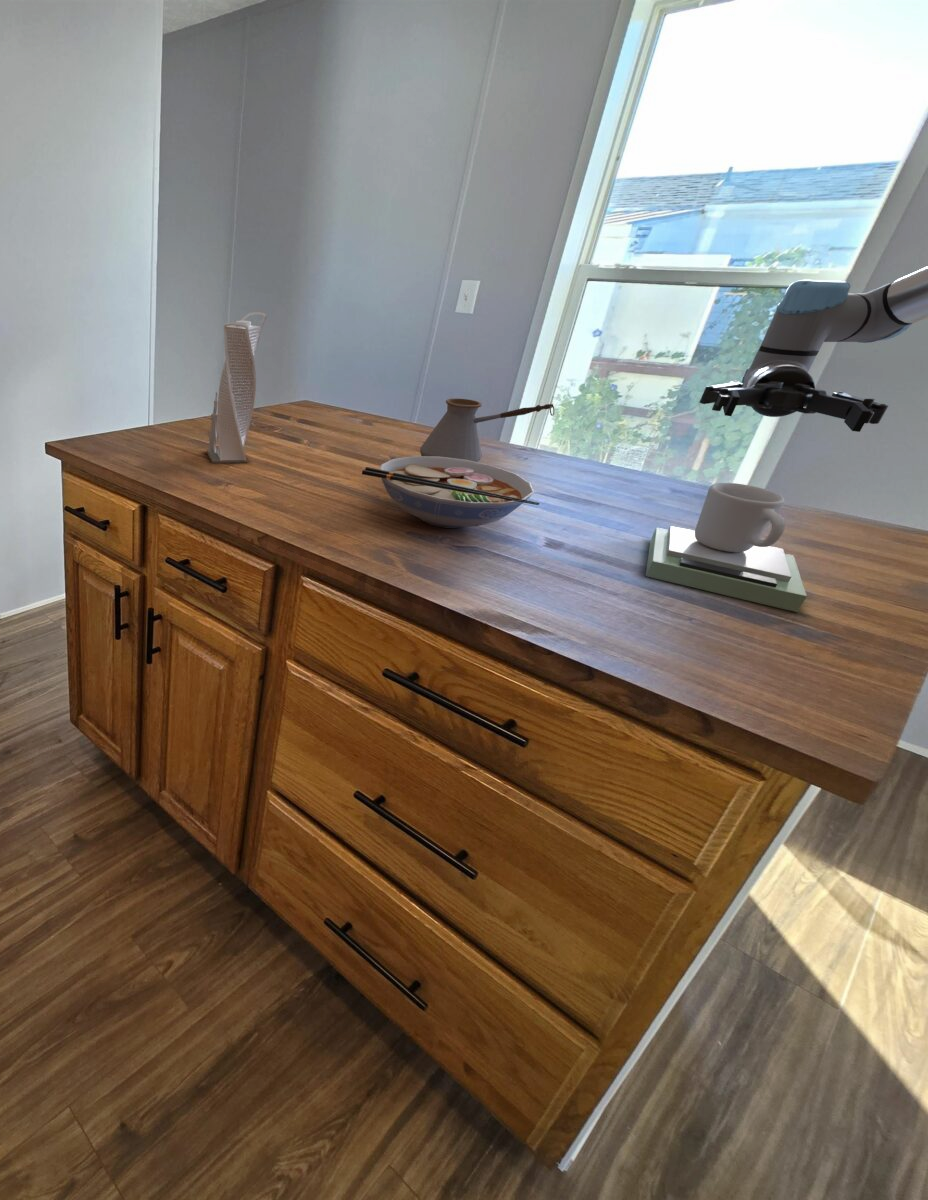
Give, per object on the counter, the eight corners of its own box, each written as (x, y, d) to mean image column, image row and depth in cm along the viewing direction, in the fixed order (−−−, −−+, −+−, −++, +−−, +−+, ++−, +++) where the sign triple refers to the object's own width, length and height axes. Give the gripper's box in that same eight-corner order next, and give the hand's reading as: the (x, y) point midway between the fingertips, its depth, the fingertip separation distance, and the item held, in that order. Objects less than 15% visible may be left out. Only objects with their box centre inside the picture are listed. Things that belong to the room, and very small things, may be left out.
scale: (785, 570, 93) (796, 550, 92) (797, 612, 83) (810, 590, 81) (650, 541, 102) (658, 522, 100) (645, 576, 91) (654, 555, 90)
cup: (790, 567, 87) (822, 511, 83) (731, 566, 87) (761, 510, 83) (725, 534, 96) (751, 482, 92) (672, 533, 96) (696, 481, 92)
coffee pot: (407, 465, 133) (425, 390, 125) (430, 454, 140) (448, 381, 133) (520, 492, 120) (547, 410, 113) (538, 478, 127) (565, 399, 120)
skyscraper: (245, 452, 140) (260, 309, 126) (254, 464, 133) (271, 314, 119) (206, 452, 139) (217, 309, 125) (213, 464, 132) (225, 314, 118)
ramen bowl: (534, 515, 111) (550, 468, 107) (518, 564, 94) (536, 511, 90) (384, 485, 122) (393, 442, 118) (346, 524, 106) (355, 476, 102)
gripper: (872, 425, 102) (904, 456, 87) (674, 402, 115) (673, 426, 100) (900, 375, 98) (939, 398, 83) (693, 357, 111) (694, 374, 96)
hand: (794, 413), depth 91 cm, fingers open, 13 cm apart
